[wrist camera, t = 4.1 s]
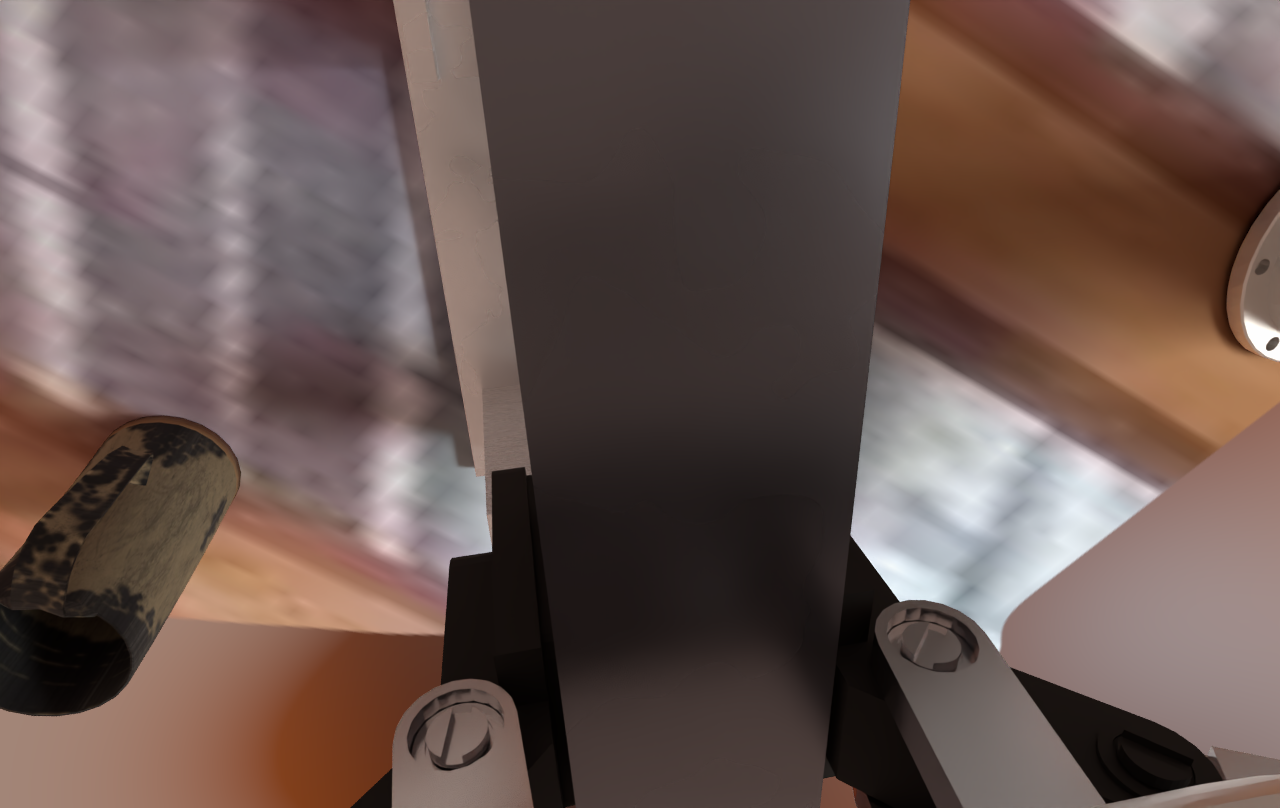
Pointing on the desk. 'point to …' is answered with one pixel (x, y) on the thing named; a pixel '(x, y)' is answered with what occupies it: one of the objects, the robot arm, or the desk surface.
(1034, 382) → the desk surface
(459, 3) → the rack
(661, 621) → the rail
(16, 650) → the mug
